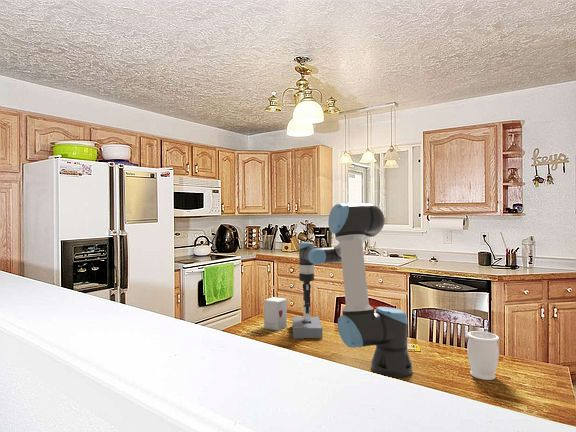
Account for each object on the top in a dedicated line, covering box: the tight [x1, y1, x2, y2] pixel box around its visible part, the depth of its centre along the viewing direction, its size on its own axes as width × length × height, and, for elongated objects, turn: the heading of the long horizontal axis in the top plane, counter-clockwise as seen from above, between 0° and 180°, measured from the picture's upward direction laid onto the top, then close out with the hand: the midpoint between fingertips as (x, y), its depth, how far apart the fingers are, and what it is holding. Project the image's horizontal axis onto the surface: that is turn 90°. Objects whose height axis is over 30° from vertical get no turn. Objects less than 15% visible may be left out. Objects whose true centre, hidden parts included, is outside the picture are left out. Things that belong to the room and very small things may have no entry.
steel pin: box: [302, 302, 310, 323], centre depth 190 cm, size 3×3×15 cm
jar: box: [466, 330, 500, 381], centre depth 138 cm, size 11×10×15 cm
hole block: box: [291, 316, 323, 340], centre depth 190 cm, size 20×14×5 cm
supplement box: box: [263, 296, 288, 331], centre depth 198 cm, size 9×9×15 cm
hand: (306, 316), depth 190 cm, fingers open, 10 cm apart
